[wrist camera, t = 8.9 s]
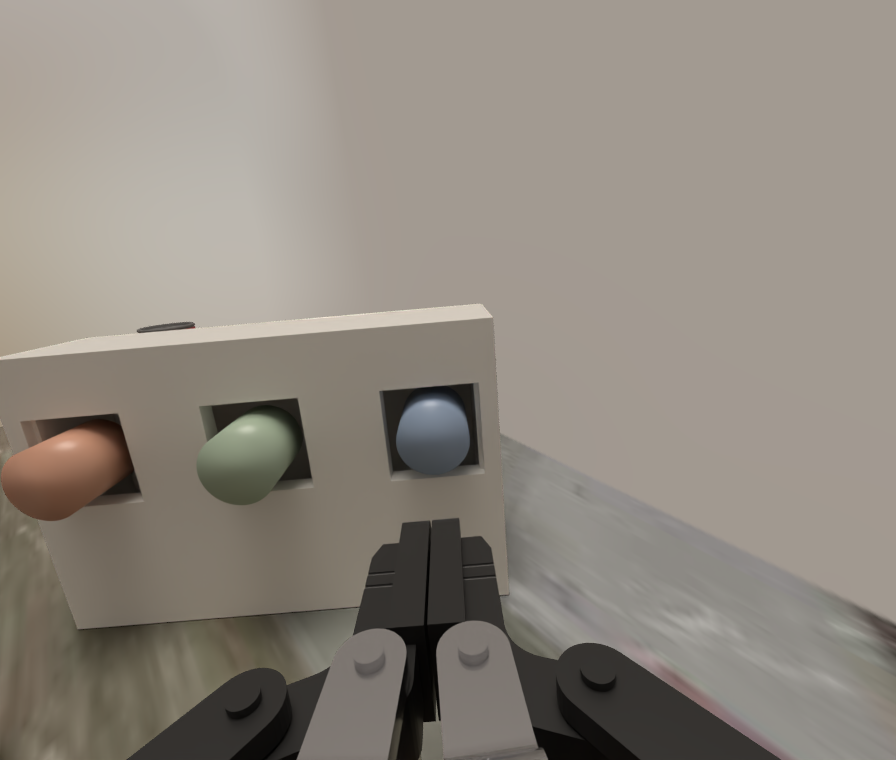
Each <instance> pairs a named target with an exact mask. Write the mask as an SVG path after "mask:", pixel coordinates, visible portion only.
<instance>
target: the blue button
mask: <svg viewBox="0 0 896 760" xmlns="http://www.w3.org/2000/svg"><path fill="white" fill-rule="evenodd" d="M396 445H397V450H398V453H399V455H400V457H401V458H402V460H403V461H404V462H405V463H406V464H407V465H408V466H409V467H410V468H412V469H413V470H415V471H417V472H420V473H423V474H429V475H438V474H443V473H446V472H449V471H451V470H453V469H454V468H456V467H457V466H458V465H459V464H460V463H461V462H462V461H463V460H464V458H465V457H466V455H467V453H468V450H469V446H470V436H469V429H468V423H467V416H466V410H465V405H464V402H463V400H462V398H461V397H460V395H459V394H458V393H457V392H456V391H455V390H453V389H452V388H450V387H448V386H446V385H445V386H433V387H421V388H417V389H415V390H414V391H413V392H412V393H411V394H410V395H409V396H408V398H407V399H406V401H405V404H404V407H403V411H402V415H401V419H400V423H399V427H398V431H397V435H396Z"/></svg>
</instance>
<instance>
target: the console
mask: <svg viewBox="0 0 896 760" xmlns="http://www.w3.org/2000/svg"><path fill="white" fill-rule="evenodd" d="M493 324H494V323H493V317H492V316H491V314H490V313H489V312H488V311H487V310H486V309H485V308H484V306H483V305H482V304H472V305H460V306H449V307H436V308H425V309H414V310H402V311H390V312H379V313H368V314H356V315H345V316H332V317H321V318H309V319H298V320H287V321H275V322H264V323H251V324H240V325H228V326H217V327H206V328H194V329H182V330H170V331H159V332H147V333H136V334H124V335H114V336H101V337H90V338H83V339H79V340H74V341H70V342H65V343H61V344H56V345H52V346H47V347H43V348H39V349H34V350H29V351H25V352H21V353H16V354H12V355H7V356H3V357H0V419H1V422H2V425H3V428H4V430H5V433H6V436H7V439H8V441H9V444H10V447H11V449H12V452H13V455H15V454H17V453H19V452H21V451H24V450H26V449H28V448H30V447H32V446H35V445H37V444H39V443H41V442H43V441H45V440H48V439H50V438H52V437H54V436H56V435H59V434H61V433H63V432H65V431H67V430H69V429H72V428H74V427H76V426H78V425H80V424H82V423H85V422H87V421H90V420H94V419H105V420H109V421H113V422H115V423H117V424H119V425H121V426H122V429H123V432H124V435H125V439H126V442H127V446H128V449H129V453H130V456H131V459H132V463H133V466H134V471H133V472H132V473H131V474H130V475H128V476H127V477H126V478H124V479H123V480H121V481H120V482H118V483H117V484H115V485H114V486H113V487H111V488H110V489H108V490H107V491H105V492H104V493H102V494H101V495H100V496H98V497H97V498H95V499H94V500H92V501H91V502H90V503H88V504H87V505H85V506H84V507H82V508H81V509H79V510H78V511H77V512H75V513H74V514H72V515H71V516H69V517H67V518H65V519H62V520H57V521H43V520H39V519H37V520H38V523H39V526H40V528H41V531H42V534H43V537H44V539H45V542H46V545H47V547H48V550H49V553H50V556H51V558H52V561H53V564H54V566H55V569H56V572H57V575H58V577H59V580H60V583H61V586H62V588H63V591H64V594H65V596H66V599H67V602H68V605H69V607H70V610H71V613H72V616H73V618H74V621H75V624H76V626H77V629H88V628H101V627H113V626H126V625H138V624H150V623H163V622H175V621H188V620H200V619H212V618H225V617H237V616H249V615H262V614H274V613H287V612H299V611H311V610H324V609H336V608H349V607H360V604H361V600H362V596H363V592H364V589H365V584H366V580H367V576H368V571H369V567H370V563H371V559H372V557H373V556H374V555H375V553H376V552H377V551H378V550H379V549H380V547H381V546H382V545H383V544H392V543H399V540H400V533H401V527H402V523H405V522H416V521H428V520H430V522H431V528H432V520H439V519H450V518H459V520H460V530H461V538H462V537H474V536H482V538H483V539H484V540H485V541H486V542H487V543H488V544H489V546H490V547H491V549H492V555H493V561H494V567H495V573H496V579H497V585H498V590H499V595H509V582H508V565H507V548H506V531H505V513H504V496H503V479H502V461H501V444H500V429H499V428H500V427H499V410H498V392H497V375H496V358H495V341H494V325H493ZM445 385H446V386H448V387H450V388H452V389H453V390H455V391H456V392H457V393H458V394H459V395H460V397H461V398H462V400H463V402H464V405H465V410H466V416H467V423H468V429H469V436H470V446H469V450H468V453H467V455H466V457H465V458H464V460H463V461H462V462H461V463H460V464H459V465H458V466H457V467H456V468H454V469H453V470H451V471H449V472H446V473H443V474H438V475H429V474H423V473H420V472H417V471H415V470H413V469H412V468H410V467H409V466H408V465H407V464H406V463H405V462H404V461H403V460H402V458H401V457H400V455H399V453H398V450H397V445H396V435H397V431H398V427H399V423H400V419H401V415H402V411H403V407H404V404H405V401H406V399H407V398H408V396H409V395H410V394H411V393H412V392H413V391H414V390H415V389H417V388H421V387H433V386H445ZM260 405H272V406H276V407H279V408H282V409H284V410H285V411H287V412H289V413H290V414H291V415H292V416H293V417H294V418H295V419H296V421H297V422H298V424H299V426H300V428H301V431H302V437H303V440H302V446H301V449H300V451H299V453H298V454H297V456H296V457H295V459H294V460H293V461H292V463H291V464H290V465H289V467H288V468H287V470H286V471H285V472H284V474H283V475H282V476H281V478H280V479H279V480H278V482H277V483H276V484H275V486H274V487H273V489H272V490H271V491H270V493H269V494H268V495H267V496H266V497H264V498H263V499H262V500H260V501H258V502H256V503H253V504H249V505H233V504H228V503H225V502H223V501H221V500H219V499H217V498H215V497H214V496H213V495H211V494H210V493H209V492H208V491H207V490H206V489H205V488H204V486H203V485H202V483H201V481H200V479H199V477H198V474H197V466H196V464H197V457H198V454H199V452H200V450H201V449H202V447H203V446H204V445H205V444H206V443H207V442H208V441H209V440H210V439H212V438H213V437H214V436H215V435H217V434H218V433H219V432H221V431H222V430H223V429H224V428H226V427H227V426H228V425H230V424H231V423H232V422H233V421H235V420H236V419H237V418H238V417H240V416H241V415H242V414H244V413H245V412H246V411H248V410H249V409H251V408H253V407H256V406H260Z"/></svg>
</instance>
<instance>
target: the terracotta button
mask: <svg viewBox="0 0 896 760" xmlns="http://www.w3.org/2000/svg"><path fill="white" fill-rule="evenodd" d="M133 471H134V466H133V463H132V459H131V456H130V453H129V449H128V446H127V442H126V439H125V435H124V432H123V429H122V426H121V425H119V424H117V423H115V422H113V421H109V420H105V419H94V420H90V421H87V422H85V423H82V424H80V425H78V426H76V427H74V428H72V429H69V430H67V431H65V432H63V433H61V434H59V435H56V436H54V437H52V438H50V439H48V440H45V441H43V442H41V443H39V444H37V445H35V446H32V447H30V448H28V449H26V450H24V451H21V452H19V453H17V454H15V455H13V456H12V457H11V458H9V459H8V460H7V462H6V463H5V465H4V467H3V469H2V473H1V483H2V487H3V490H4V492H5V495H6V496H7V498H8V499H9V501H10V502H11V503H12V504H13V505H14V506H15V507H16V508H17V509H18V510H20V511H21V512H23V513H24V514H26V515H28V516H30V517H32V518H35V519H39V520H43V521H57V520H62V519H65V518H67V517H69V516H71V515H72V514H74V513H75V512H77V511H78V510H79V509H81V508H82V507H84V506H85V505H87V504H88V503H90V502H91V501H92V500H94V499H95V498H97V497H98V496H100V495H101V494H102V493H104V492H105V491H107V490H108V489H110V488H111V487H113V486H114V485H115V484H117V483H118V482H120V481H121V480H123V479H124V478H126V477H127V476H128V475H130V474H131V473H132V472H133Z"/></svg>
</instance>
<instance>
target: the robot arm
mask: <svg viewBox="0 0 896 760" xmlns="http://www.w3.org/2000/svg"><path fill="white" fill-rule="evenodd" d="M436 700H437V709H438V717H439V721H441V727H442V741H443V755H444V760H781V759H779V758H778V757H776V756H775V755H773V754H772V753H770V752H769V751H767V750H766V749H764V748H763V747H761V746H760V745H758V744H757V743H755V742H754V741H752V740H751V739H749V738H748V737H746V736H745V735H743V734H742V733H740V732H739V731H737V730H736V729H734V728H733V727H731V726H730V725H728V724H727V723H725V722H724V721H722V720H721V719H719V718H718V717H716V716H715V715H713V714H712V713H710V712H709V711H707V710H706V709H704V708H703V707H701V706H700V705H698V704H697V703H695V702H694V701H692V700H691V699H689V698H688V697H686V696H685V695H683V694H682V693H680V692H679V691H677V690H676V689H674V688H673V687H671V686H670V685H668V684H667V683H665V682H664V681H662V680H661V679H659V678H658V677H656V676H655V675H653V674H652V673H650V672H649V671H647V670H646V669H644V668H643V667H641V666H640V665H638V664H637V663H635V662H634V661H632V660H631V659H629V658H628V657H626V656H625V655H623V654H622V653H620V652H618V651H617V650H615V649H613V648H611V647H608V646H605V645H602V644H596V643H582V644H578V645H574V646H572V647H570V648H568V649H567V650H566V651H564V653H563V654H562V655H561V656H560V658H559V660H554V659H549V658H544V657H540V656H537V655H533V654H531V653H529V652H526V651H525V650H523V649H521V648H520V647H519V646H517V645H516V644H515V643H514V642H513V641H512V640H511V638H510V637H509V635H508V634H507V632H506V629H505V625H504V620H503V614H502V608H501V602H500V596H499V590H498V585H497V579H496V573H495V567H494V561H493V555H492V549H491V547H490V546H489V544H488V543H487V542H486V541H485V540H484V539H483V538H482V536H474V537H462V538H461V530H460V520H459V518H450V519H439V520H432V528H431V522H430V520H428V521H416V522H405V523H402V527H401V533H400V540H399V543H392V544H383V545H382V546H381V547H380V549H379V550H378V551H377V552H376V553H375V555H374V556H373V557H372V559H371V563H370V567H369V571H368V576H367V580H366V584H365V589H364V592H363V596H362V600H361V604H360V609H359V613H358V617H357V621H356V625H355V629H354V633H353V636H352V637H351V638H349V639H348V640H347V641H346V642H344V643H343V644H342V646H341V647H340V648H339V649H338V651H337V652H336V654H335V656H334V658H333V661H332V664H331V666H330V667H329V668H327V669H325V670H324V671H322V672H320V673H318V674H315V675H313V676H310V677H308V678H305V679H302V680H300V681H297V682H294V683H291V684H289V685H286V681H285V679H284V677H283V676H282V675H281V673H279V672H278V671H276V670H273V669H269V668H257V669H252V670H249V671H246V672H243V673H241V674H239V675H237V676H235V677H233V678H232V679H230V680H229V681H227V682H226V683H225V684H223V685H222V686H221V687H219V688H218V689H217V690H216V691H214V692H213V693H212V694H210V695H209V696H208V697H207V698H205V699H204V700H203V701H201V702H200V703H199V704H198V705H196V706H195V707H194V708H192V709H191V710H190V711H189V712H187V713H186V714H185V715H183V716H182V717H181V718H180V719H178V720H177V721H176V722H174V723H173V724H172V725H170V726H169V727H168V728H167V729H165V730H164V731H163V732H161V733H160V734H159V735H158V736H156V737H155V738H154V739H152V740H151V741H150V742H149V743H147V744H146V745H145V746H143V747H142V748H141V749H140V750H138V751H137V752H136V753H134V754H133V755H132V756H131V757H129V758H128V759H127V760H421V751H422V739H423V722H432V721H436Z"/></svg>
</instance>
